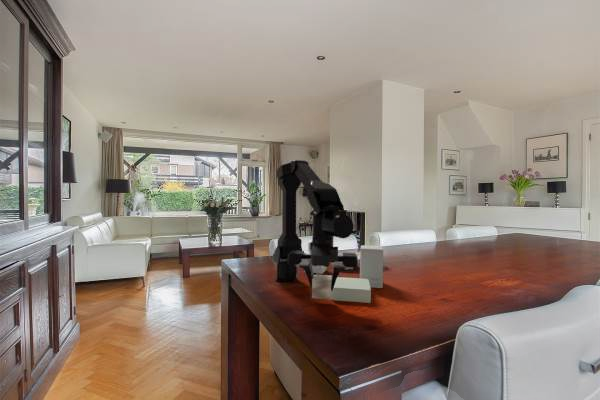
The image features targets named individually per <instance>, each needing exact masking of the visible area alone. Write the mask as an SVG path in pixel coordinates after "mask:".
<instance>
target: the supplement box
mask: <svg viewBox="0 0 600 400" xmlns="http://www.w3.org/2000/svg"><path fill="white" fill-rule="evenodd" d="M359 252H360V262H359V278H360V279H368V280H369V284H370V288H373V289H374V288H377V289H382V288H384V287H383V286H384V284H383V283H384V279H383V278H384V267H383V257H384V248H383V246H382V245H361V244H360V251H359Z"/></svg>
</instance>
